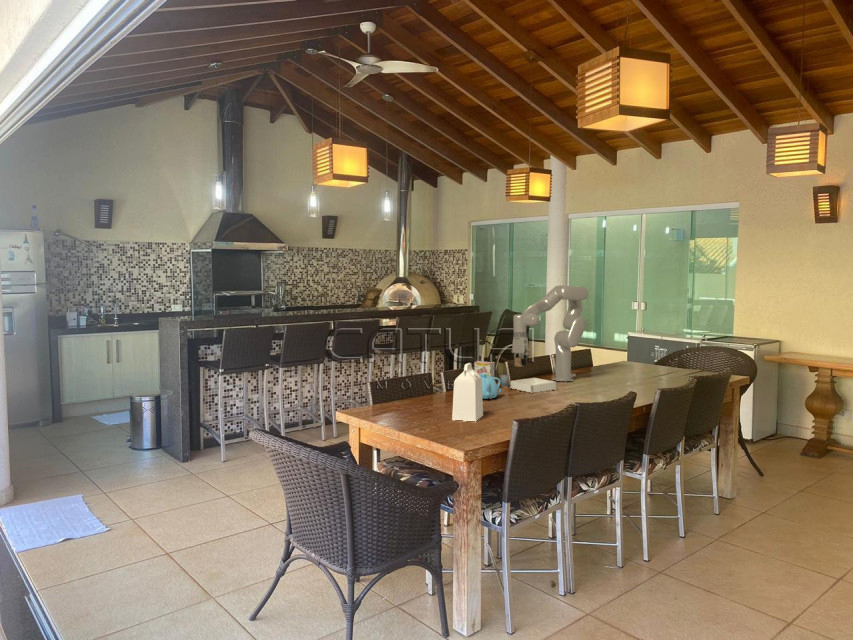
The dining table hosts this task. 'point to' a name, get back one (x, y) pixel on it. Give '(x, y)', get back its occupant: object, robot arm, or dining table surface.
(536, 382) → the tote
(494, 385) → the decorative pot
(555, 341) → the robot arm
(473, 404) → the milk
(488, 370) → the candy bar box
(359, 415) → the dining table surface
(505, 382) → the slate capsule
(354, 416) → the dining table surface
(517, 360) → the walnut cube
